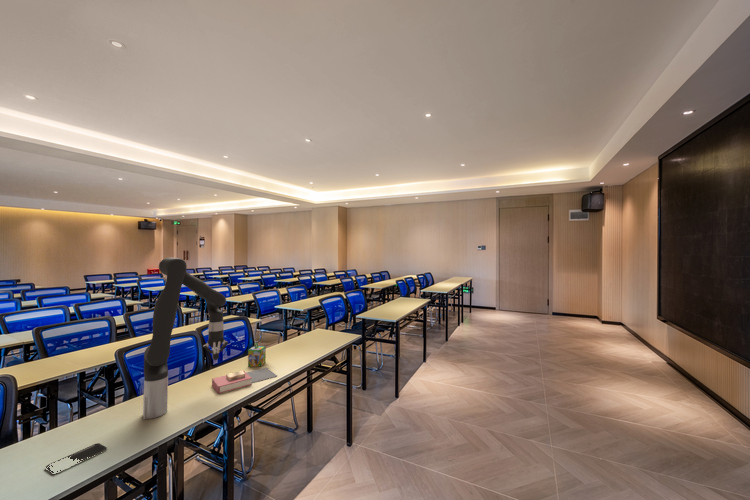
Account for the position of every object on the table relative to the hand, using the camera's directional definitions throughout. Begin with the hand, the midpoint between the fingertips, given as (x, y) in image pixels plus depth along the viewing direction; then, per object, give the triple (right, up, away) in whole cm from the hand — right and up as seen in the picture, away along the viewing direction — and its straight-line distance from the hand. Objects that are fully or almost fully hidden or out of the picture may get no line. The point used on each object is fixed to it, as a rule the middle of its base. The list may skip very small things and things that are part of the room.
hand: (215, 359), depth 168 cm
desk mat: (+17, -17, +20) cm, 32 cm away
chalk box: (+8, -18, +39) cm, 44 cm away
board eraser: (+8, -13, +7) cm, 17 cm away
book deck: (+7, -17, +6) cm, 19 cm away
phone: (-20, -16, -58) cm, 63 cm away
